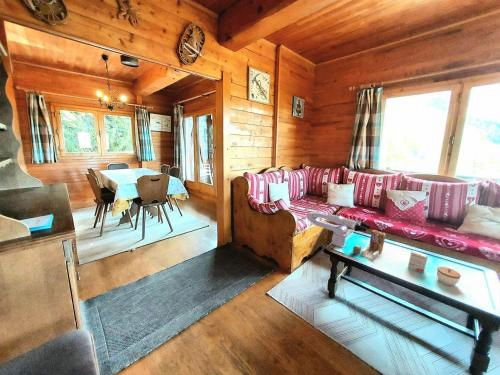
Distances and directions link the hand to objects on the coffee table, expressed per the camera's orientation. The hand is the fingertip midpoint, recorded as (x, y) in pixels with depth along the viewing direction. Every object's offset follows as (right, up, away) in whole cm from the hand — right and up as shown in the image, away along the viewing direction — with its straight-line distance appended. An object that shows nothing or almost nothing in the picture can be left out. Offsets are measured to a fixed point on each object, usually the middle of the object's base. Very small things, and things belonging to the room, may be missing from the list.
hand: (368, 228), depth 161 cm
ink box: (+27, -26, -11) cm, 39 cm away
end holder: (+3, -21, +4) cm, 22 cm away
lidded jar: (+36, -29, -24) cm, 52 cm away
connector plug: (-8, -20, +5) cm, 22 cm away
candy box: (+13, -20, +13) cm, 27 cm away
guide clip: (-1, -21, +4) cm, 21 cm away
